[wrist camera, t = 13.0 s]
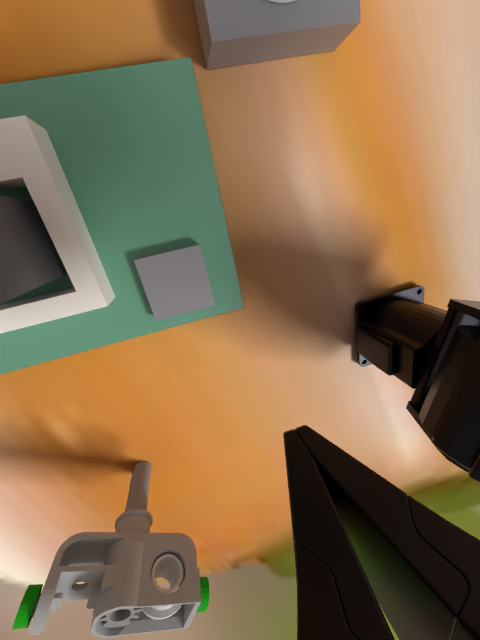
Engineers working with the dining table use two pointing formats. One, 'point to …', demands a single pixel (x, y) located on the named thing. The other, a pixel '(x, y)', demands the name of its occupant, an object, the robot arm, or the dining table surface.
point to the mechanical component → (123, 575)
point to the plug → (25, 249)
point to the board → (114, 208)
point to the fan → (271, 28)
